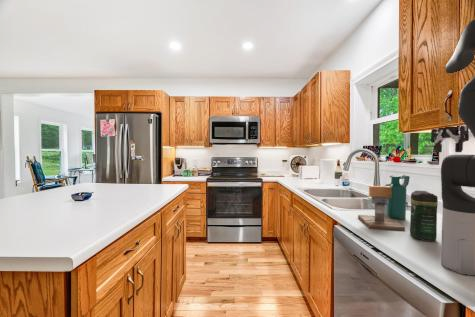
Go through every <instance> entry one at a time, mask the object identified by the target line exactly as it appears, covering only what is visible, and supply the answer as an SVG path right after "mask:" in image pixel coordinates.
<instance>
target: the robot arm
mask: <svg viewBox="0 0 475 317" xmlns="http://www.w3.org/2000/svg"><path fill="white" fill-rule="evenodd" d="M474 52H475V18H474V19H472V20H471V21H470V22H468V23H467V25H466V26H465V28H464V29H463V31H462V34H461V35H460V38H459V40H458V43H457V44H456V47H455V49H454V52H453V54H452V56H451V57H450V59H449V60H448V61H447V62H446V65H445V66H446V67H445V70H446V72H447V73H454V72H457V71H460V70H462V69H464V68H465V67H467V66H468V65H469V64H470V63H471V62H472V61H473V59H474V55H475V53H474ZM458 114H459V116H460V118H461V122H463V124H464V125H459V126H457V127H445V128H439V127H438V128H432V129H431V132H430V133H431V134H430V143H433V144H434V150H435V153H442V152H443V144H442V143H443V141H445V140H446V139H453V140H454V142H455V143H454V144H455V146H454V152H455V153H462V152H463V150H464V149H463V148H464V142H468V141H469V140H470V137H469V135H470V134H469V132H470V133H471V134H472V136H473V138H474V139H475V75H474V76H473V77H471V79H470V80H468V82H467V83H466V84H465V85H464V86H463V87H462V89H461V93H460V99H459V105H458ZM440 183H441V199H442V215H441V216H442V218H441V219H442V220H441V246H440V247H441V250H440V252H441V254H440V256H441V257H440V258H441V259H440V261H441V262H440V265H442V266H443V267H444V266H445V267H444V268H446V267H447V268H446V269H448V268H449V269H448V270H450V269H451V270H450V271H453V272H456V273H458V274H459V273H460V274H459V275H465V274H467V275H470V276H475V197H474V196H471V195H470V194H468V193H467V192H466V191H464V190H463V188H462V187H466V188H468V187H469V188H475V154H448V155H446V156H444V158H443V160H442V162H441V166H440ZM467 275H466V276H467Z"/></svg>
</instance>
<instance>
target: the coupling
mask: <svg viewBox="0 0 475 317" xmlns="http://www.w3.org/2000/svg"><path fill="white" fill-rule="evenodd" d="M368 197H369V198H367V201H368V202H371V203H372V204H374V205H375V204H380V205H388V204H389V198H392V187H390V186H385V185H368Z"/></svg>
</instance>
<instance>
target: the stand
mask: <svg viewBox="0 0 475 317" xmlns="http://www.w3.org/2000/svg"><path fill="white" fill-rule="evenodd" d="M357 218H358V220H360V221H361V222H362V223H363V224H364V225H365V226H366V227H367V228H368V229H374V230H385V231H386V230H390V231H406V230H405V229H406V227H405V226H404V225H402V224H401V223H399V222H397V221H396V220H395V219H391V218H390V217H387V216H385V205H380V204H374V215H365V214H358V215H357Z"/></svg>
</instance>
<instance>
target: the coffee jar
mask: <svg viewBox="0 0 475 317" xmlns="http://www.w3.org/2000/svg"><path fill="white" fill-rule="evenodd" d="M438 204H439V200H438V196H437V195H436V194H434V193H431V192H428V191H426V190H415V191H412V192H411V193H410V218H409V219H410V223H409V234H410V235H411V236H412V237H413V238H415V239H418V240H421V241H424V242H432V241H434V242H435V241H437V231H438V230H437V226H438V223H437V222H438V221H437V220H438V217H437V216H438Z"/></svg>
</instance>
